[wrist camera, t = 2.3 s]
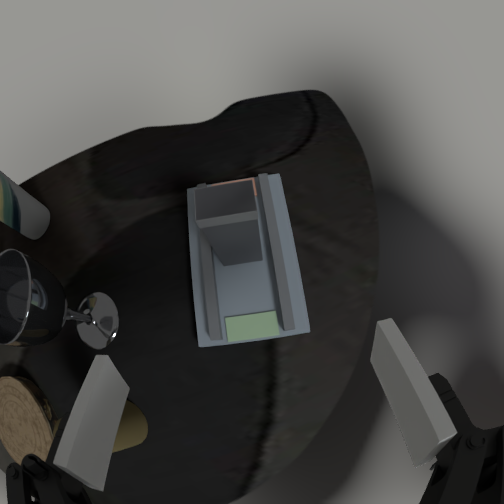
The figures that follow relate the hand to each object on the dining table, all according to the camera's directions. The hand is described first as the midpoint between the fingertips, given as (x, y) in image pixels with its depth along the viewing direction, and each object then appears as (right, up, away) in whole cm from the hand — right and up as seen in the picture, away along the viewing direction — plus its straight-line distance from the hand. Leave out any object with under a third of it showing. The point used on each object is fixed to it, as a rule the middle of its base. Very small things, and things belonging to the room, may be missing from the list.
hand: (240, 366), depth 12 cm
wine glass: (-18, -3, +17) cm, 25 cm away
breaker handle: (0, +5, +17) cm, 18 cm away
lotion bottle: (-33, +10, +23) cm, 42 cm away
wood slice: (-32, -21, +13) cm, 41 cm away
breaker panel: (0, +5, +18) cm, 19 cm away
